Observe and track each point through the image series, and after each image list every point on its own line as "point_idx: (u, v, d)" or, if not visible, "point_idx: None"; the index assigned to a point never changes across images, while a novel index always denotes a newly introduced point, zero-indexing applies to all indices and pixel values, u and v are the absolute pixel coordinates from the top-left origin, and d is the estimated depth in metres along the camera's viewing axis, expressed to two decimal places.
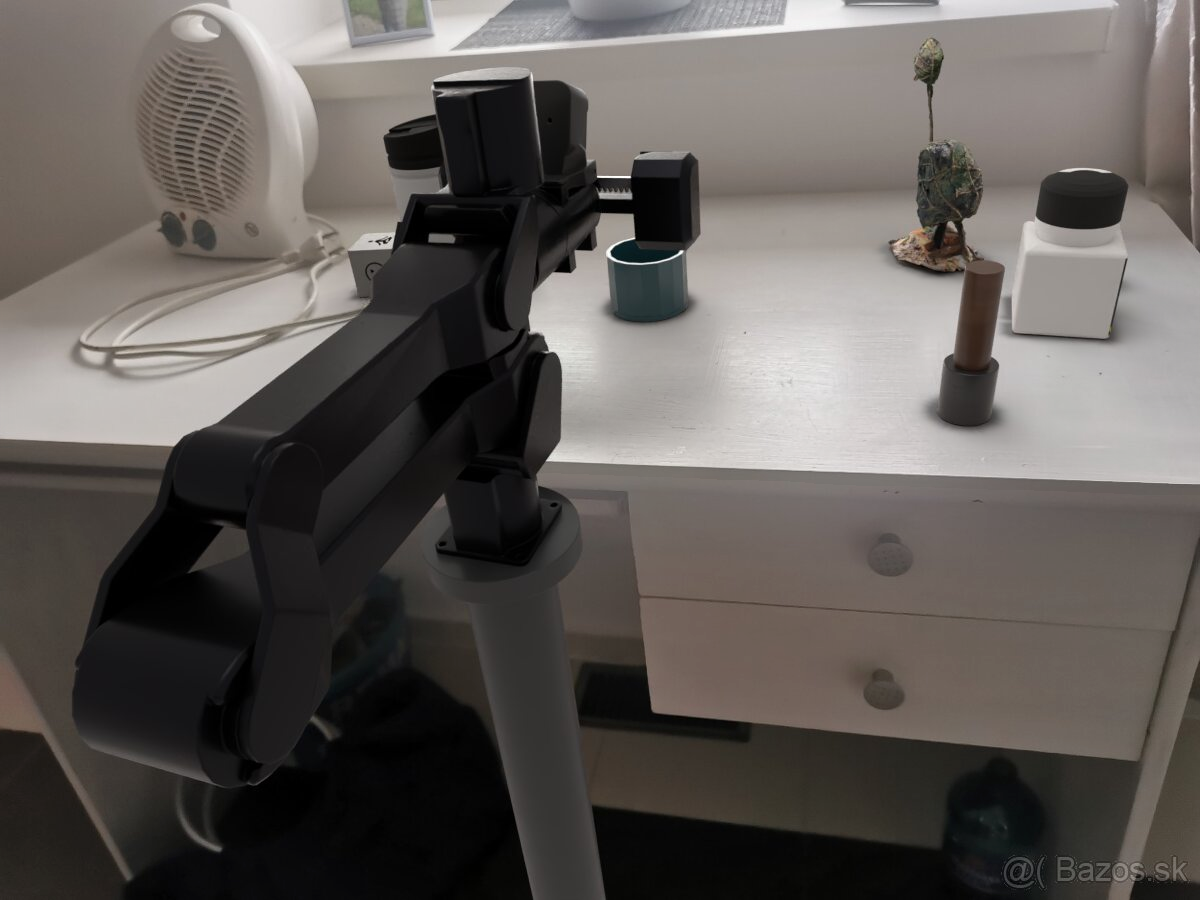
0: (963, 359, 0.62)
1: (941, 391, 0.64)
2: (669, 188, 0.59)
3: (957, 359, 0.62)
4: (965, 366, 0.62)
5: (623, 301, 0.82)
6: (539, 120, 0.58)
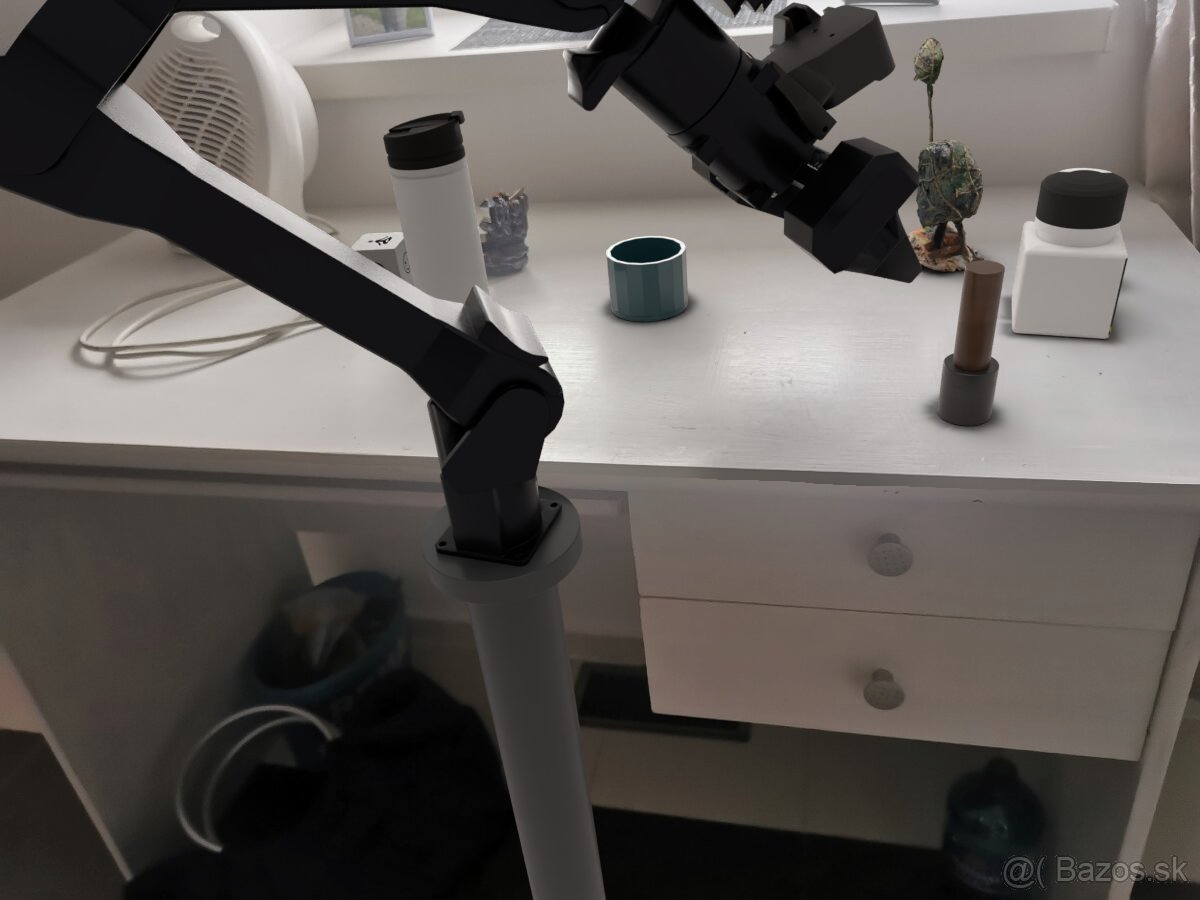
0: (963, 359, 0.62)
1: (941, 391, 0.64)
2: (856, 164, 0.44)
3: (957, 359, 0.62)
4: (965, 366, 0.62)
5: (623, 301, 0.82)
6: (825, 33, 0.48)
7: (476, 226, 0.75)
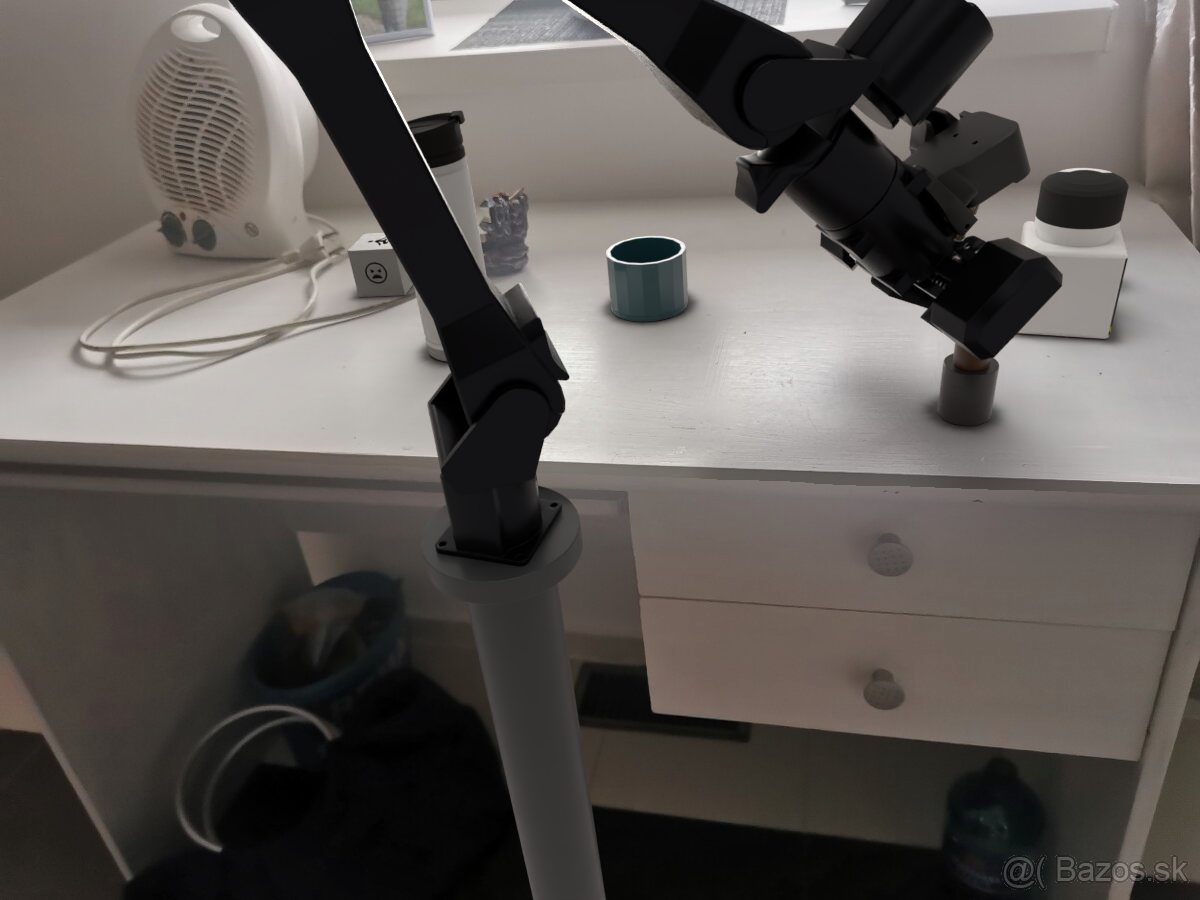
0: (963, 359, 0.62)
1: (941, 391, 0.64)
2: (1007, 266, 0.49)
3: (957, 359, 0.62)
4: (965, 366, 0.62)
5: (623, 301, 0.82)
6: (967, 140, 0.54)
7: (476, 226, 0.75)
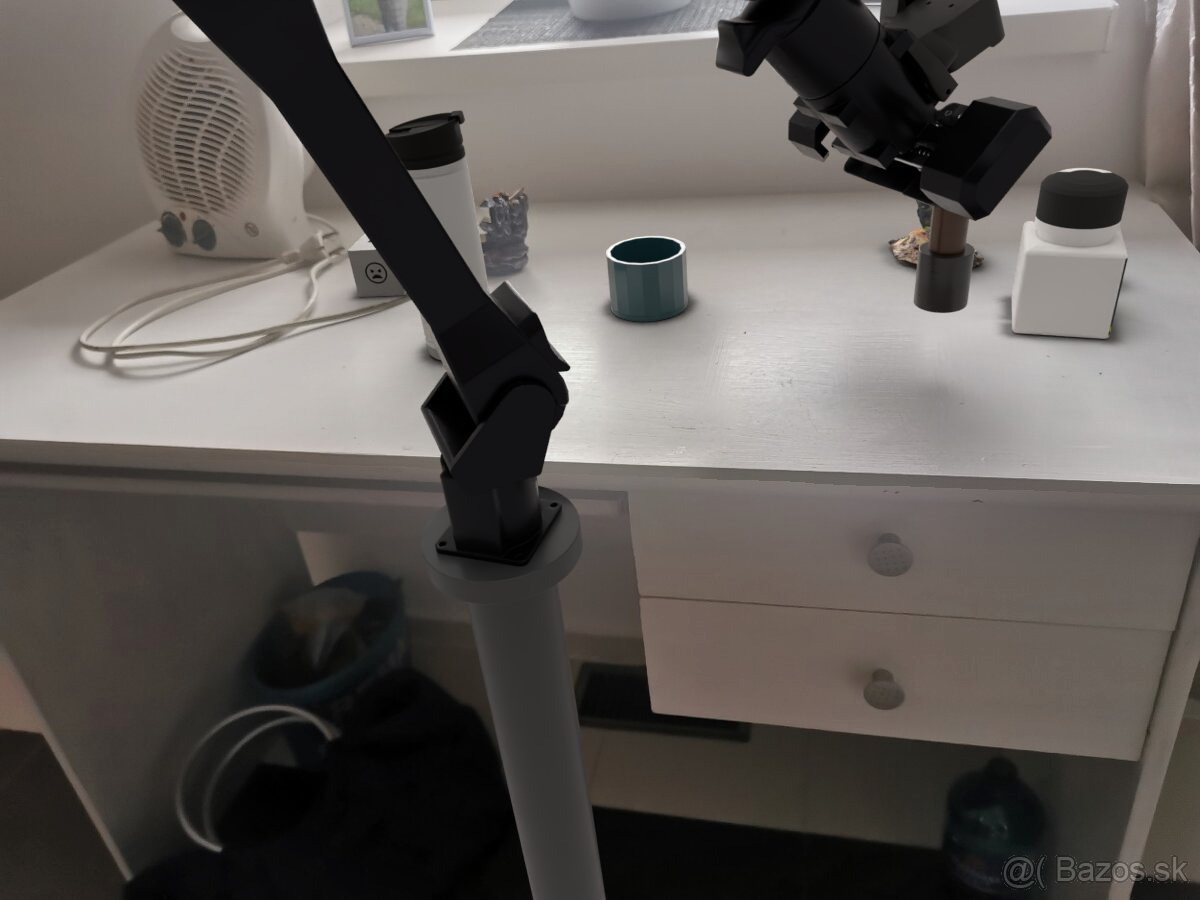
0: (940, 243, 0.61)
1: (918, 280, 0.63)
2: (998, 119, 0.49)
3: (933, 244, 0.61)
4: (942, 251, 0.61)
5: (623, 301, 0.82)
6: (943, 4, 0.53)
7: (476, 226, 0.75)
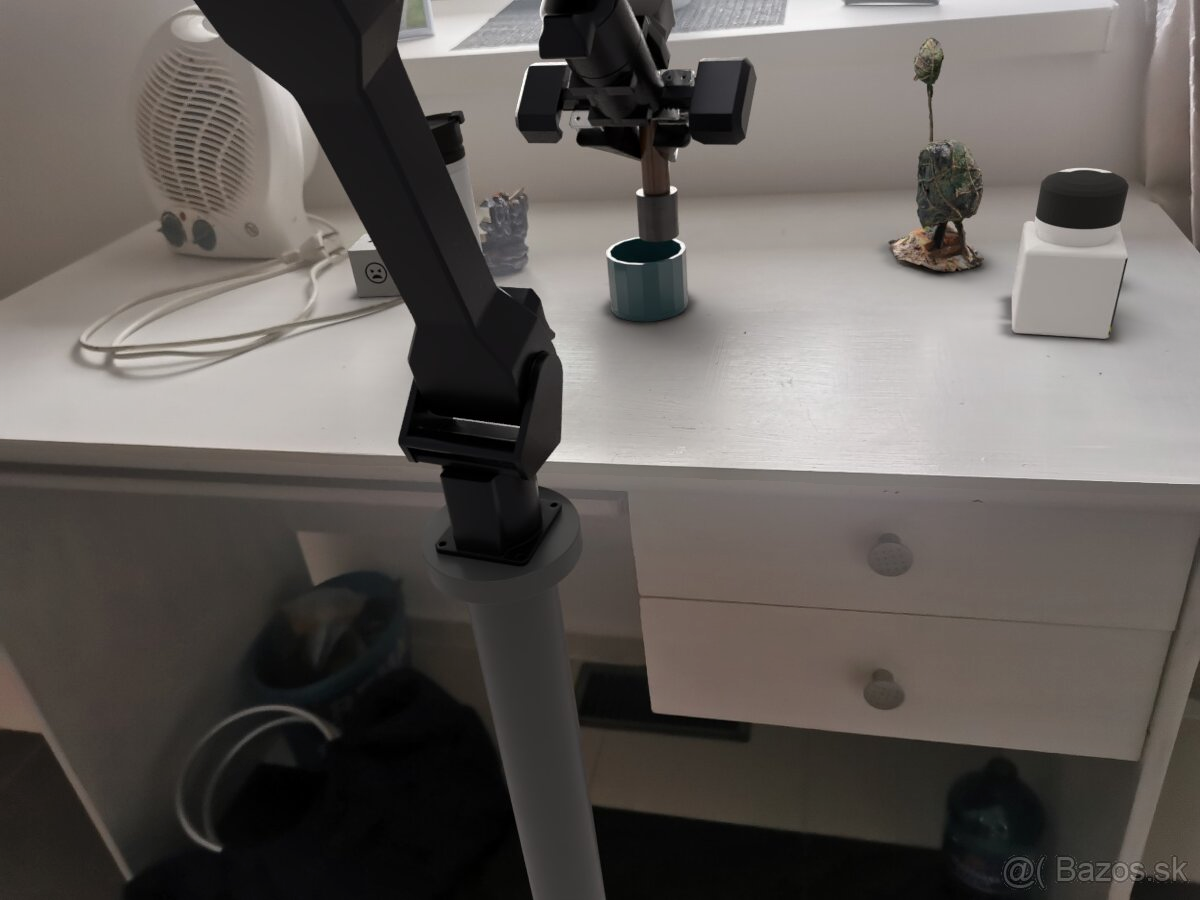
0: (658, 186, 0.78)
1: (646, 220, 0.79)
2: (731, 69, 0.67)
3: (652, 188, 0.78)
4: (660, 191, 0.78)
5: (623, 301, 0.82)
6: None
7: (476, 226, 0.75)
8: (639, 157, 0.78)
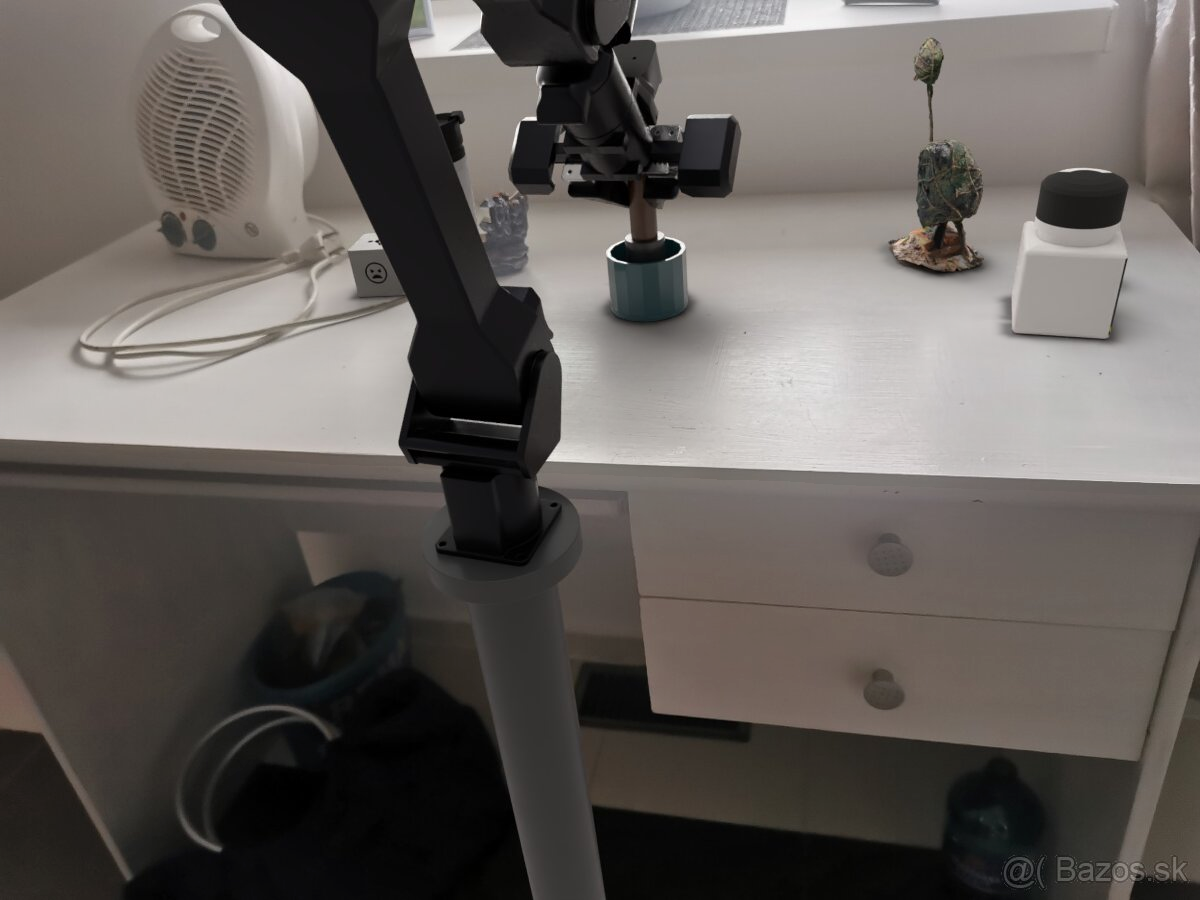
0: (646, 232, 0.81)
1: None
2: (717, 126, 0.70)
3: (641, 235, 0.81)
4: (648, 237, 0.81)
5: (623, 301, 0.82)
6: (625, 58, 0.71)
7: None
8: (627, 205, 0.80)
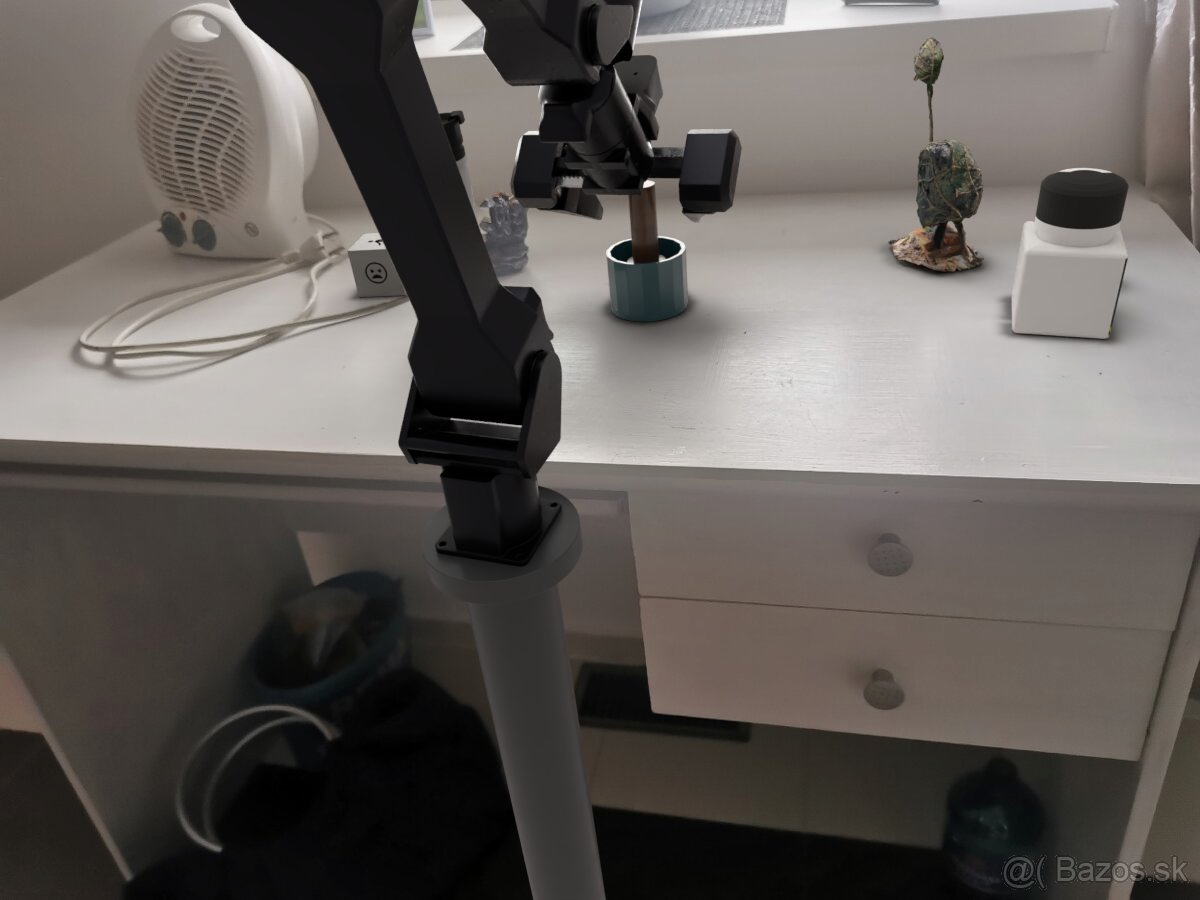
0: (647, 256, 0.82)
1: None
2: (718, 141, 0.71)
3: (642, 259, 0.82)
4: (650, 261, 0.82)
5: (623, 301, 0.82)
6: (626, 74, 0.72)
7: None
8: (595, 216, 0.82)
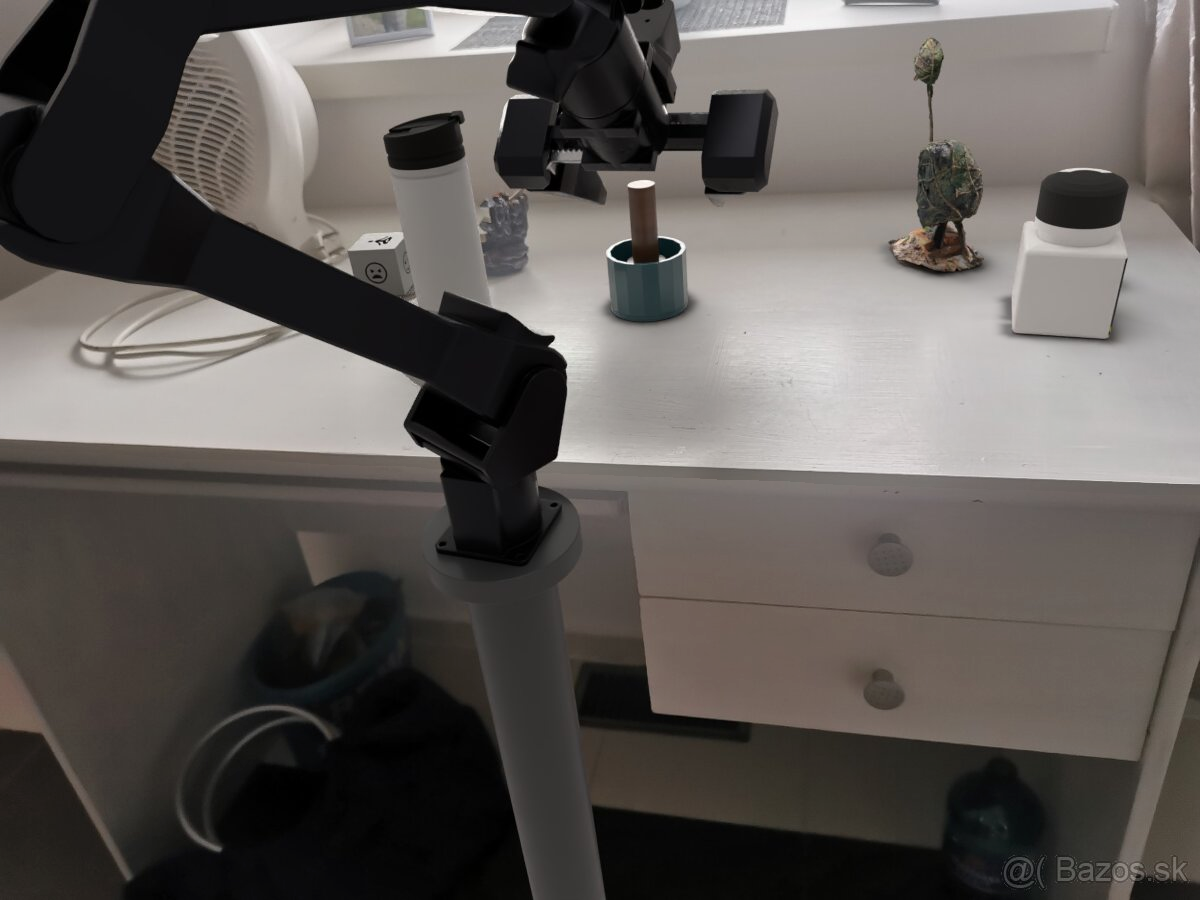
0: (647, 256, 0.82)
1: None
2: (750, 103, 0.57)
3: (642, 259, 0.82)
4: (650, 261, 0.82)
5: (623, 301, 0.82)
6: (636, 21, 0.58)
7: (476, 226, 0.75)
8: (597, 200, 0.68)
